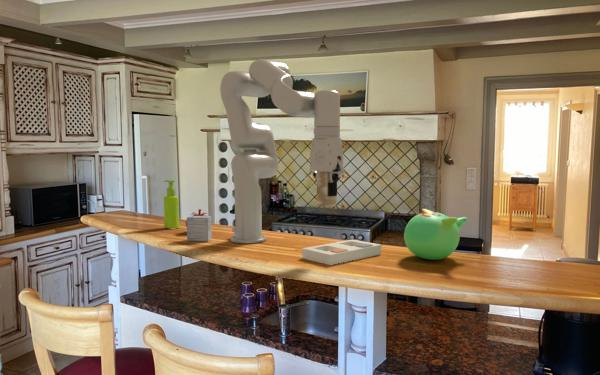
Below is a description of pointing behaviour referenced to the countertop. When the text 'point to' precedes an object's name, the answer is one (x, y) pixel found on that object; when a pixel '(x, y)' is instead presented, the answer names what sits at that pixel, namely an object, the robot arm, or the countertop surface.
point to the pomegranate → (197, 215)
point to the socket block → (341, 251)
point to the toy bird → (433, 234)
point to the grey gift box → (199, 228)
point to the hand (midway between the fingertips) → (326, 194)
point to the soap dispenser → (171, 207)
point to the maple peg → (324, 190)
